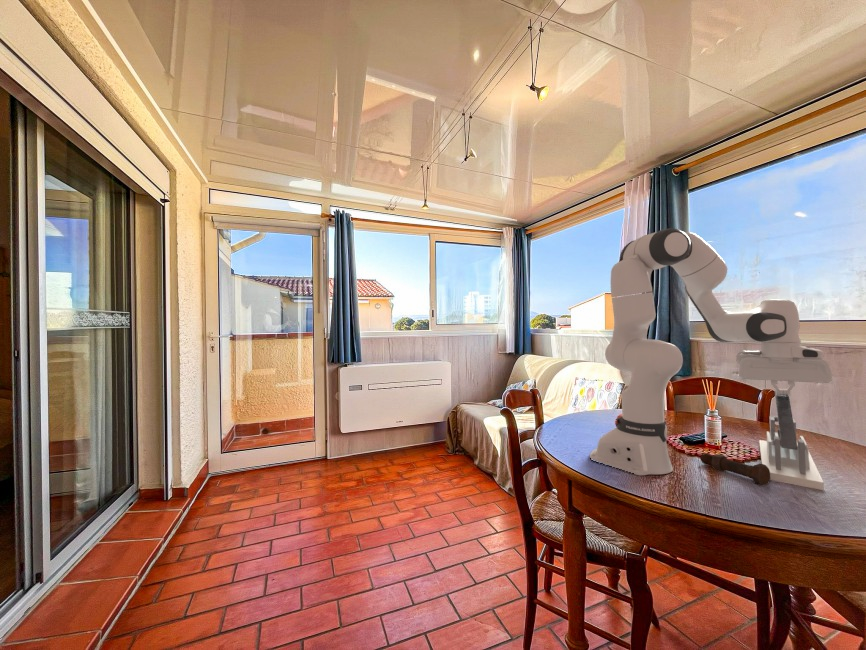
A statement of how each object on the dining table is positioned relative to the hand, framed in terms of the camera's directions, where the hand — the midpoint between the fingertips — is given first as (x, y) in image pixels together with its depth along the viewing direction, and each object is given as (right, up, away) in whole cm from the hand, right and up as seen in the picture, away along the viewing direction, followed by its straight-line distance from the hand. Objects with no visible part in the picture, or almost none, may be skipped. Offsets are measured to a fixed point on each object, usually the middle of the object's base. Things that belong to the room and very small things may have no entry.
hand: (783, 395), depth 106 cm
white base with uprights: (-4, -20, -5) cm, 21 cm away
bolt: (-24, -21, -9) cm, 33 cm away
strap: (-5, -6, -5) cm, 10 cm away
